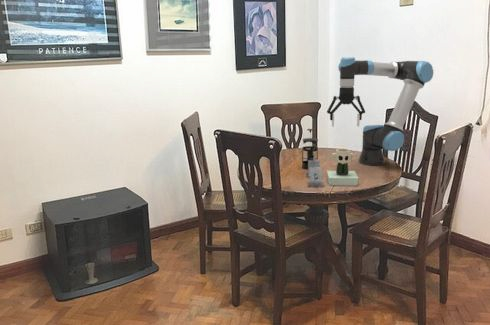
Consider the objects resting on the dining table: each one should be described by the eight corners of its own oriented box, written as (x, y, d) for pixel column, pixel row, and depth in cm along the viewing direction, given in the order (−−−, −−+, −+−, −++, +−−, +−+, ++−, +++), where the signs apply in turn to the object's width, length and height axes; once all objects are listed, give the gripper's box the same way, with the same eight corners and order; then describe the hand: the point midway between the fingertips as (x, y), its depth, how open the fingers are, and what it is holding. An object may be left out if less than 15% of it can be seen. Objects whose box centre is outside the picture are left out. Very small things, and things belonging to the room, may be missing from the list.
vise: (320, 174, 251) (320, 158, 249) (324, 187, 227) (324, 170, 225) (305, 174, 251) (306, 158, 249) (308, 187, 228) (308, 170, 225)
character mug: (332, 176, 233) (333, 151, 230) (330, 172, 240) (331, 148, 237) (353, 176, 232) (355, 151, 229) (351, 172, 239) (352, 148, 236)
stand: (353, 178, 243) (354, 170, 242) (358, 185, 229) (358, 178, 228) (326, 177, 244) (326, 170, 243) (328, 185, 230) (329, 177, 229)
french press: (316, 170, 260) (317, 130, 255) (300, 169, 263) (300, 130, 257) (319, 165, 271) (320, 127, 266) (303, 164, 274) (304, 127, 268)
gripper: (369, 86, 244) (367, 124, 249) (322, 86, 246) (321, 125, 251) (371, 87, 237) (370, 127, 242) (323, 87, 239) (322, 127, 244)
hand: (345, 126), depth 246 cm, fingers open, 13 cm apart
